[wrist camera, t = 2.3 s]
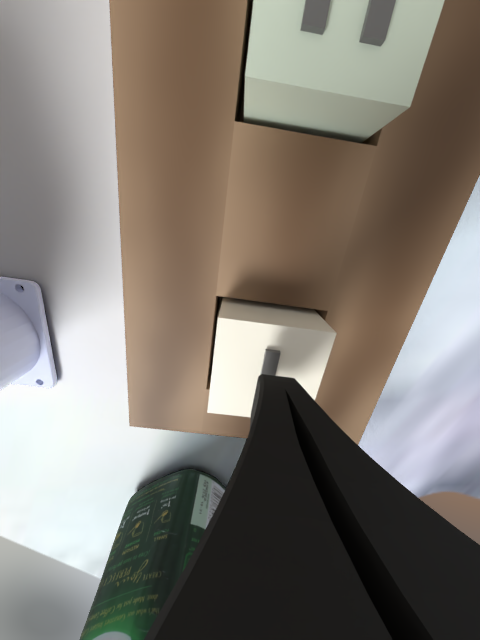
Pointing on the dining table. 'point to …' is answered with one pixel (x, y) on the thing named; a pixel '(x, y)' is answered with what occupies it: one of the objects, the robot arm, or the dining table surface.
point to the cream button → (265, 351)
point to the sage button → (335, 63)
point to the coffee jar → (151, 553)
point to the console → (275, 208)
